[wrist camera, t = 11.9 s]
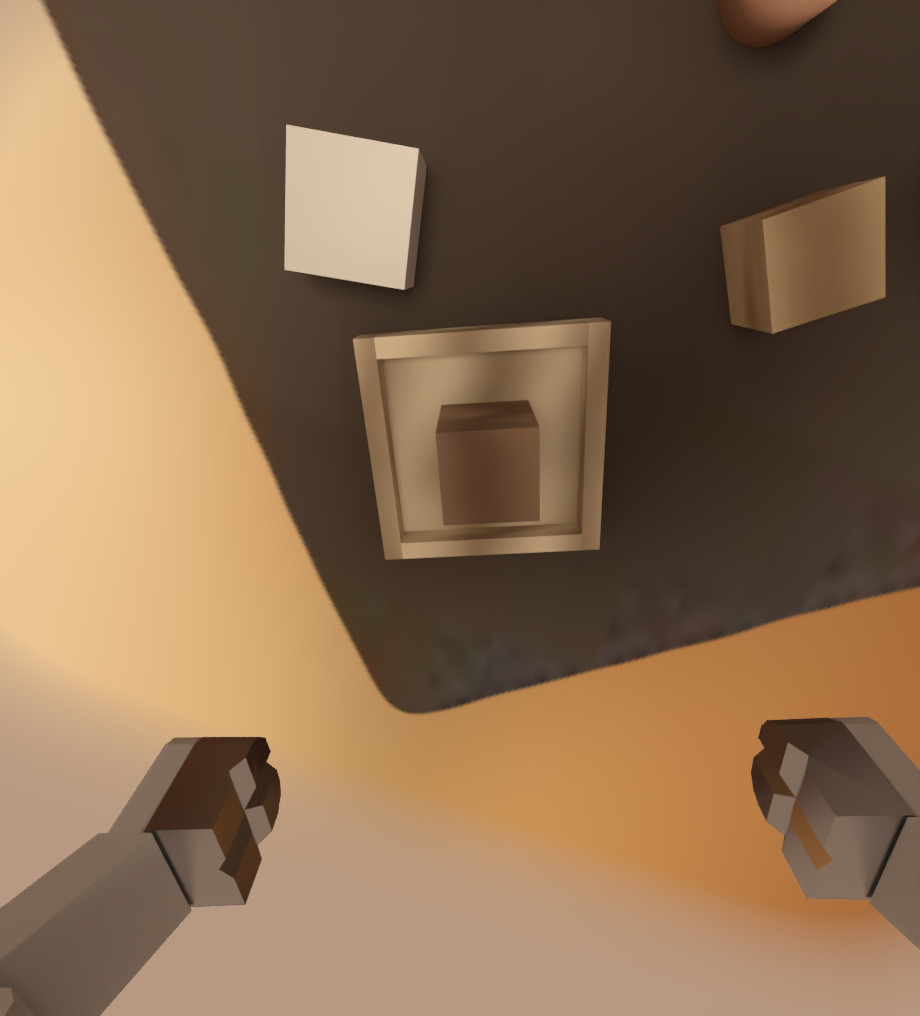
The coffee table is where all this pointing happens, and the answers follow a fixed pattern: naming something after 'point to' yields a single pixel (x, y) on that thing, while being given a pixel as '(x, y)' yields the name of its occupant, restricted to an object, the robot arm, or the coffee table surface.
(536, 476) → the walnut block
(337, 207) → the white plastic block
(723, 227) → the oak block
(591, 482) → the birch tray
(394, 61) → the coffee table surface
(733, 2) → the pinkish tan rounded lump
